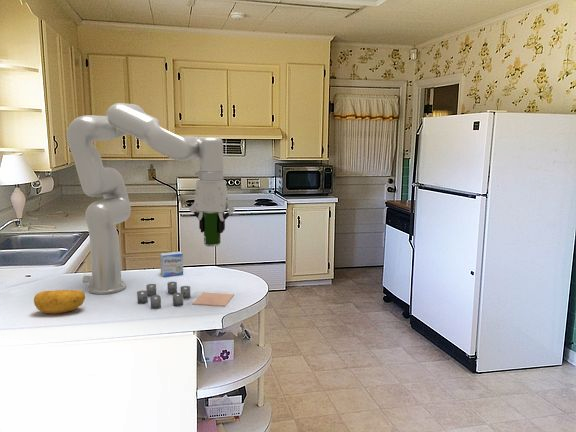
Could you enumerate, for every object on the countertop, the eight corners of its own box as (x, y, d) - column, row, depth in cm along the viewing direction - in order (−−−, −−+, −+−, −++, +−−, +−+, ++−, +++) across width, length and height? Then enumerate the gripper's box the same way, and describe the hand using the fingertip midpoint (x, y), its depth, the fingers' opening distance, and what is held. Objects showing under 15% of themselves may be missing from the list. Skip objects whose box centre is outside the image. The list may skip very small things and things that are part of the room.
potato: (82, 315, 147) (81, 293, 146) (31, 318, 145) (29, 295, 143) (87, 306, 154) (86, 285, 153) (39, 309, 152) (37, 287, 150)
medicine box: (163, 277, 185) (162, 255, 183) (160, 274, 189) (159, 252, 187) (183, 275, 188) (183, 253, 187) (180, 271, 192) (179, 250, 191)
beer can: (208, 247, 155) (207, 210, 153) (201, 244, 159) (200, 208, 157) (223, 245, 158) (223, 209, 156) (216, 242, 162) (215, 206, 160)
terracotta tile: (192, 304, 157) (192, 303, 157) (202, 293, 168) (202, 292, 168) (225, 306, 156) (225, 305, 156) (233, 295, 166) (233, 294, 166)
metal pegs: (130, 307, 154) (130, 297, 153) (153, 289, 171) (152, 280, 170) (177, 310, 152) (176, 300, 151) (195, 292, 168) (194, 282, 168)
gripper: (181, 176, 152) (182, 233, 155) (234, 178, 150) (234, 235, 153) (189, 174, 159) (190, 228, 163) (240, 176, 157) (240, 230, 160)
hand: (212, 231), depth 158 cm, fingers closed on beer can, 5 cm apart
